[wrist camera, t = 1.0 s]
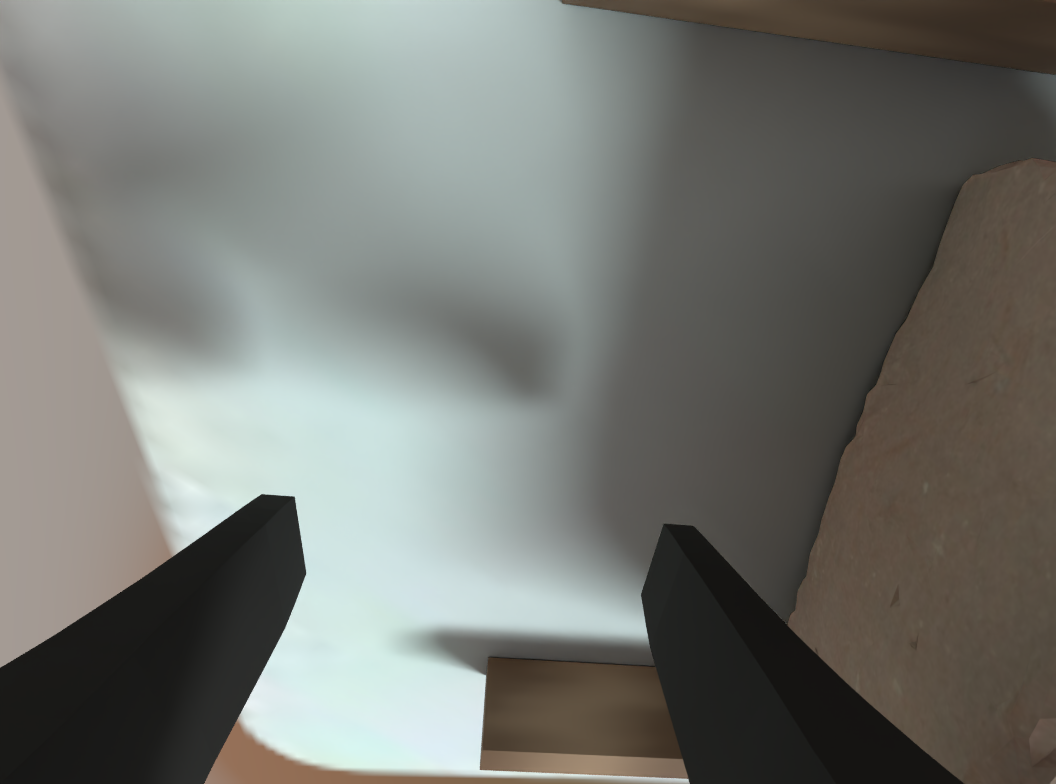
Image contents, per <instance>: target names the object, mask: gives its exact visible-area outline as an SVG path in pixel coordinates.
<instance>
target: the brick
mask: <svg viewBox="0 0 1056 784" xmlns="http://www.w3.org/2000/svg"><path fill="white" fill-rule="evenodd" d="M787 626H788V627H789V628H790V629H791V630H792V631H793V632H794V633H795V634H796V635H797V636H798V637H799V638H800V639H801V640H802V641H803V642H805V643H806V644H807V645H808V646H809V647H810V648H811V649H812V650H813V651H814V652H815V653H816V654H817V655H818V656H819V657H820V658H821V659H822V660H823V661H824V662H825V663H826V664H827V665H828V666H829V667H831V668H832V669H833V670H834V671H835V672H836V673H837V674H838V675H839V676H840V677H841V678H842V679H843V680H844V681H845V682H846V683H847V684H848V685H850V686H851V687H852V688H853V689H854V690H855V691H856V692H857V693H858V694H859V695H861V696H862V697H863V698H864V699H865V700H866V701H867V702H868V703H869V704H870V705H872V706H873V707H874V708H875V709H876V710H877V711H879V712H880V713H881V714H882V715H883V716H884V717H886V718H887V719H888V720H889V721H890V722H891V723H892V724H894V725H895V726H896V727H897V728H898V729H899V730H901V731H902V732H903V733H904V734H905V735H906V736H907V737H909V738H910V739H911V740H912V741H913V742H914V743H916V744H917V745H918V746H919V747H920V748H921V749H923V750H924V751H925V752H926V753H927V754H929V755H930V756H931V757H932V758H933V759H935V760H936V761H937V762H938V763H940V764H941V765H942V766H943V767H944V768H946V769H947V770H948V771H949V772H951V773H952V774H953V775H954V776H955V777H957V778H958V779H959V780H961V781H962V782H963V783H964V784H1056V162H1053V161H1047V160H1042V159H1036V158H1030V159H1027V160H1024V161H1021V160H1019V161H1015V162H1011V163H1008V164H1004V165H1000V166H998V167H995V168H993V169H991V170H989V171H987V172H985V173H983V174H976V175H972V176H971V177H970V178H969V179H968V180H967V181H966V182H965V183H964V184H963V186H962V188H961V190H960V192H959V195H958V197H957V199H956V201H955V204H954V206H953V209H952V212H951V214H950V217H949V220H948V223H947V225H946V228H945V231H944V234H943V236H942V239H941V242H940V244H939V248H938V251H937V255H936V258H935V261H934V265H933V268H932V270H931V271H930V273H929V275H928V276H927V278H926V280H925V281H924V283H923V285H922V287H921V288H920V290H919V292H918V295H917V297H916V299H915V301H914V303H913V306H912V308H911V310H910V312H909V315H908V317H907V319H906V320H905V322H904V323H903V325H902V326H901V327H900V329H899V330H898V331H897V333H896V335H895V337H894V339H893V342H892V344H891V346H890V348H889V351H888V353H887V355H886V357H885V360H884V363H883V367H882V371H881V373H880V376H879V379H878V381H877V384H876V385H875V387H874V388H873V389H872V390H871V391H870V392H869V393H868V394H867V396H866V401H865V405H864V409H863V413H862V415H861V417H860V420H859V422H858V424H857V428H856V436H855V437H854V439H853V440H852V441H851V442H850V443H849V444H848V445H847V446H846V448H845V450H844V453H843V455H842V457H841V460H840V464H839V468H838V472H837V475H836V479H835V483H834V485H833V488H832V490H831V493H830V496H829V498H828V501H827V505H826V508H825V511H824V514H823V517H822V520H821V525H820V529H819V533H818V536H817V538H816V541H815V543H814V545H813V548H812V550H811V552H810V557H809V563H808V569H807V575H806V577H805V578H804V579H803V581H802V583H801V585H800V587H799V589H798V592H797V603H796V609H795V611H793V612H792V613H791V614H790V617H789V620H788V624H787Z"/></svg>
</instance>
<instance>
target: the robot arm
mask: <svg viewBox="0 0 1056 784" xmlns="http://www.w3.org/2000/svg"><path fill="white" fill-rule="evenodd" d="M305 575H306V568H305V562H304V555H303V549H302V542H301V536H300V529H299V523H298V516H297V510H296V503H295V497H292V496H278V495H265V494H261V495H260V496H258V497H257V498H255V499H254V500H252V501H251V502H249V503H248V504H247V505H245V506H244V507H242V508H241V509H239V510H238V511H237V512H235V513H234V514H232V515H231V516H230V517H228V518H227V519H225V520H224V521H223V522H221V523H220V524H218V525H217V526H216V527H214V528H213V529H211V530H210V531H209V532H207V533H206V534H204V535H203V536H202V537H200V538H199V539H197V540H196V541H195V542H193V543H192V544H190V545H189V546H188V547H186V548H185V549H183V550H182V551H180V552H179V553H178V554H176V555H175V556H173V557H172V558H170V559H169V560H167V561H166V562H165V563H163V564H162V565H160V566H159V567H158V568H156V569H155V570H153V571H152V572H150V573H149V574H148V575H146V576H145V577H143V578H142V579H140V580H139V581H137V582H136V583H134V584H133V585H131V586H129V587H128V588H126V589H125V590H123V591H122V592H120V593H119V594H117V595H116V596H114V597H113V598H111V599H110V600H108V601H106V602H105V603H103V604H102V605H100V606H99V607H97V608H96V609H94V610H93V611H92V612H90V613H88V614H87V615H85V616H83V617H82V618H80V619H79V620H77V621H76V622H74V623H73V624H71V625H70V626H68V627H67V628H65V629H63V630H62V631H61V632H59V633H57V634H56V635H54V636H52V637H51V638H49V639H47V640H46V641H44V642H43V643H41V644H39V645H38V646H36V647H35V648H33V649H31V650H29V651H28V652H26V653H25V654H23V655H21V656H19V657H18V658H16V659H14V660H13V661H11V662H10V663H8V664H6V665H4V666H2V667H1V668H0V784H204V783H205V781H206V778H207V776H208V774H209V772H210V770H211V768H212V766H213V764H214V762H215V760H216V758H217V757H218V755H219V753H220V751H221V749H222V747H223V745H224V743H225V741H226V739H227V738H228V736H229V734H230V732H231V730H232V728H233V726H234V724H235V722H236V721H237V719H238V717H239V715H240V713H241V711H242V709H243V707H244V705H245V704H246V702H247V700H248V698H249V696H250V694H251V692H252V690H253V688H254V687H255V685H256V683H257V681H258V679H259V677H260V675H261V673H262V671H263V670H264V668H265V666H266V664H267V662H268V660H269V658H270V656H271V654H272V652H273V650H274V648H275V647H276V645H277V643H278V641H279V639H280V637H281V635H282V633H283V631H284V629H285V627H286V625H287V622H288V620H289V617H290V615H291V612H292V610H293V607H294V605H295V602H296V600H297V597H298V594H299V592H300V589H301V586H302V583H303V581H304V578H305ZM641 597H642V603H643V609H644V616H645V622H646V627H647V633H648V638H649V644H650V648H651V652H652V656H653V659H654V663H655V666H656V670H657V673H658V677H659V680H660V684H661V687H662V690H663V694H664V697H665V701H666V704H667V707H668V711H669V714H670V718H671V721H672V724H673V728H674V731H675V735H676V738H677V741H678V745H679V748H680V752H681V755H682V758H683V762H684V765H685V769H686V772H687V775H688V779H689V782H690V784H964V783H963V782H962V781H961V780H959V779H958V778H957V777H955V776H954V775H953V774H952V773H951V772H949V771H948V770H947V769H946V768H944V767H943V766H942V765H941V764H940V763H938V762H937V761H936V760H935V759H933V758H932V757H931V756H930V755H929V754H927V753H926V752H925V751H924V750H923V749H921V748H920V747H919V746H918V745H917V744H916V743H914V742H913V741H912V740H911V739H910V738H909V737H907V736H906V735H905V734H904V733H903V732H902V731H901V730H899V729H898V728H897V727H896V726H895V725H894V724H892V723H891V722H890V721H889V720H888V719H887V718H886V717H884V716H883V715H882V714H881V713H880V712H879V711H877V710H876V709H875V708H874V707H873V706H872V705H870V704H869V703H868V702H867V701H866V700H865V699H864V698H863V697H862V696H861V695H859V694H858V693H857V692H856V691H855V690H854V689H853V688H852V687H851V686H850V685H848V684H847V683H846V682H845V681H844V680H843V679H842V678H841V677H840V676H839V675H838V674H837V673H836V672H835V671H834V670H833V669H832V668H831V667H829V666H828V665H827V664H826V663H825V662H824V661H823V660H822V659H821V658H820V657H819V656H818V655H817V654H816V653H815V652H814V651H813V650H812V649H811V648H810V647H809V646H808V645H807V644H806V643H805V642H803V641H802V640H801V639H800V638H799V637H798V636H797V635H796V634H795V633H794V632H793V631H792V630H791V629H790V628H789V627H788V626H787V624H786V623H785V622H784V621H783V620H782V619H781V618H780V617H779V616H778V615H777V614H776V613H775V612H774V611H773V610H772V609H771V608H770V607H769V606H768V605H767V604H766V603H765V602H764V601H763V600H762V599H761V598H760V597H759V595H758V594H757V593H756V592H755V591H754V590H753V589H752V588H751V587H750V586H749V585H748V584H747V583H746V582H745V581H744V579H743V578H742V577H741V576H740V575H739V574H738V573H737V572H736V571H735V570H734V569H733V568H732V567H731V565H730V564H729V563H728V562H727V561H726V560H725V559H724V558H723V557H722V556H721V555H720V554H719V552H718V551H717V550H716V549H715V548H714V547H713V546H712V545H711V544H710V543H709V542H708V541H707V540H706V538H705V537H704V536H703V535H702V534H701V533H700V532H699V531H698V530H697V529H696V528H695V527H694V526H687V525H673V524H664V525H663V528H662V531H661V534H660V537H659V540H658V543H657V547H656V550H655V553H654V556H653V559H652V562H651V565H650V568H649V572H648V575H647V578H646V581H645V584H644V587H643V590H642V593H641Z"/></svg>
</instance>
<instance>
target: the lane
mask: <svg viewBox="0 0 1056 784" xmlns="http://www.w3.org/2000/svg"><path fill="white" fill-rule="evenodd" d="M562 3H564V4H571V5H578V6H585V7H592V8H599V9H606V10H613V11H620V12H626V13H633V14H640V15H647V16H654V17H661V18H668V19H675V20H682V21H688V22H695V23H702V24H709V25H716V26H723V27H730V28H737V29H744V30H750V31H757V32H764V33H771V34H778V35H785V36H792V37H799V38H806V39H812V40H819V41H826V42H833V43H840V44H847V45H854V46H861V47H868V48H874V49H881V50H888V51H895V52H902V53H909V54H916V55H923V56H930V57H936V58H943V59H950V60H957V61H964V62H971V63H978V64H985V65H991V66H998V67H1005V68H1012V69H1019V70H1026V71H1033V72H1040V73H1047V74H1053V75H1056V0H562ZM480 770H494V771H518V772H541V773H565V774H589V775H612V776H636V777H659V778H683V779H688V775H687V772H686V769H685V765H684V762H683V758H682V755H681V752H680V748H679V745H678V741H677V738H676V735H675V731H674V728H673V724H672V721H671V718H670V714H669V711H668V707H667V704H666V701H665V697H664V694H663V690H662V687H661V684H660V680H659V677H658V673H657V670H656V667H648V666H630V665H613V664H595V663H578V662H560V661H543V660H525V659H508V658H490V657H488V665H487V674H486V687H485V701H484V715H483V730H482V744H481V759H480Z"/></svg>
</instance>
